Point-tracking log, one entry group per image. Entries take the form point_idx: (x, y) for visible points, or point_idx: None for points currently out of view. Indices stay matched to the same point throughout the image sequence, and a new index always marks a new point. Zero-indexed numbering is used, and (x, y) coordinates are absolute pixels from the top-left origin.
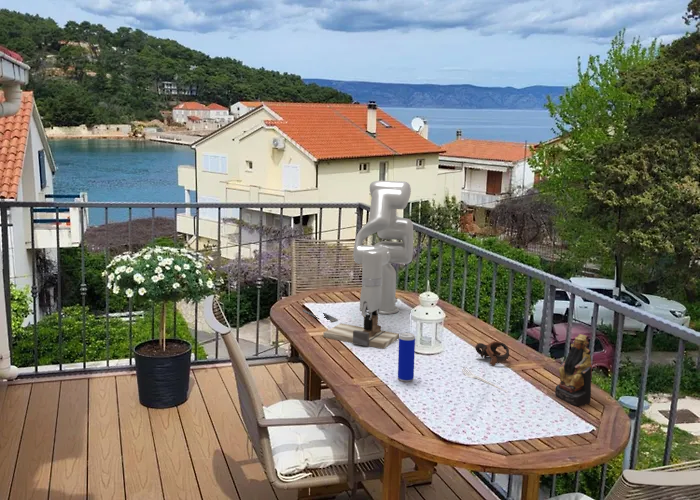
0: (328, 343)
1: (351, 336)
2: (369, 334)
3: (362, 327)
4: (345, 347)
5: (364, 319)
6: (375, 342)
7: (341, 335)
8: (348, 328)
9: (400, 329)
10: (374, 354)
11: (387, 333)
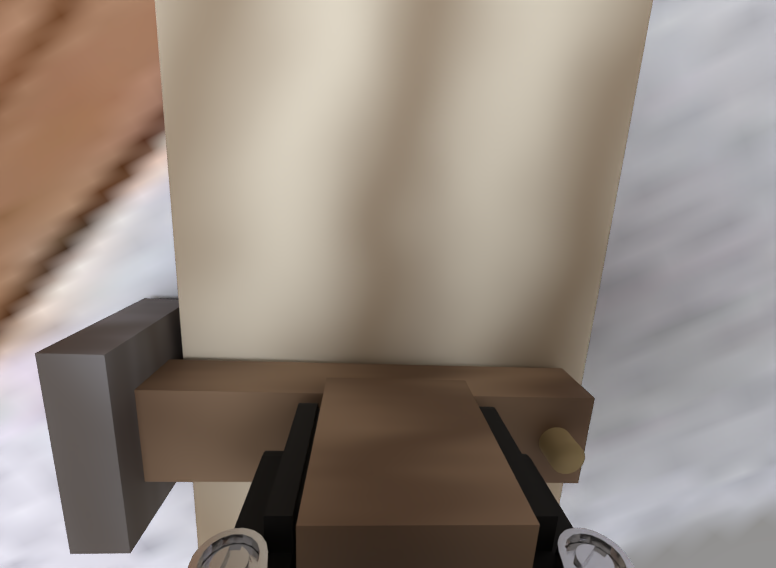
0: (16, 25)
1: (212, 245)
2: None
3: (602, 209)
4: (34, 265)
5: (218, 546)
6: (199, 524)
7: (171, 110)
8: (491, 59)
9: (769, 471)
10: (52, 548)
11: None
